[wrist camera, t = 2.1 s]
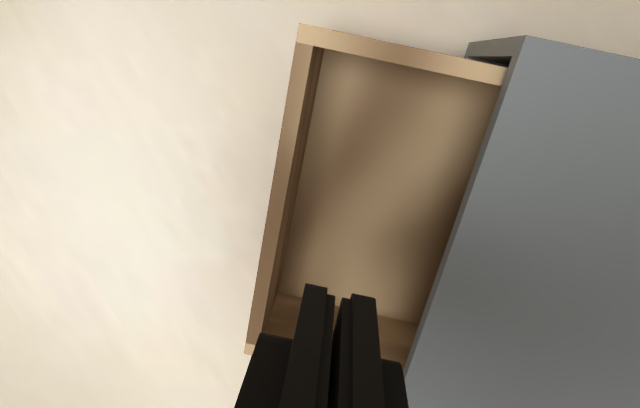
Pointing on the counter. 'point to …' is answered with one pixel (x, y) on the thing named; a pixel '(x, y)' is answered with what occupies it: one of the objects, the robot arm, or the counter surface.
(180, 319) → the counter surface
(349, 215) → the tray
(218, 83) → the counter surface
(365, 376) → the robot arm
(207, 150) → the counter surface
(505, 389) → the sleeve
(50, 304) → the counter surface
